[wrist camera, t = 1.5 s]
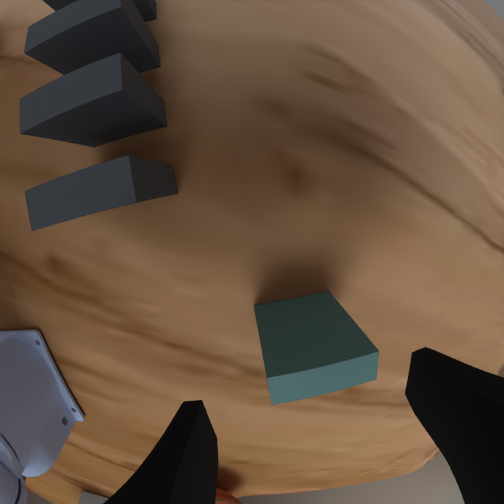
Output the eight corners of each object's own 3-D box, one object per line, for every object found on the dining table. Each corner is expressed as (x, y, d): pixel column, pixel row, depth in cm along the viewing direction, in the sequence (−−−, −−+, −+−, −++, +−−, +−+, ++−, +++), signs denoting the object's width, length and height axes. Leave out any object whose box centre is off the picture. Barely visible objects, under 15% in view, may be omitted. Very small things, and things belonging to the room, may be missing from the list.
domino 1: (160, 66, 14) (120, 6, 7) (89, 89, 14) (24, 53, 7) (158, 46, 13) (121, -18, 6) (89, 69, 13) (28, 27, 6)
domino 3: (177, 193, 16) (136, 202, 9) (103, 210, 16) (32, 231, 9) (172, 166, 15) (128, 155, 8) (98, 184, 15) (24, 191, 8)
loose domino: (330, 313, 18) (376, 378, 11) (257, 327, 18) (271, 404, 11) (328, 291, 18) (379, 351, 11) (253, 305, 18) (266, 378, 11)
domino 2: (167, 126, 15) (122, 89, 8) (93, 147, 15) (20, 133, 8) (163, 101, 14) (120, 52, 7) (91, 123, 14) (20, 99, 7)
